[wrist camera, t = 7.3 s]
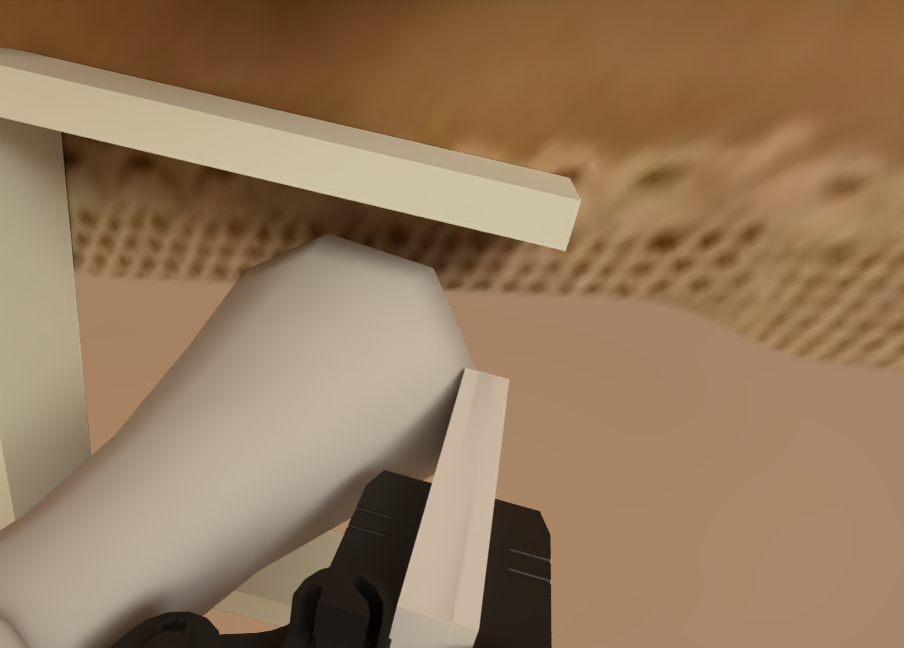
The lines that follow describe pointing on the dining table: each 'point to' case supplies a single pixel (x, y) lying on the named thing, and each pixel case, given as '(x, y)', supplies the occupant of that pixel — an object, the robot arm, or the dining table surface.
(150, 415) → the flask
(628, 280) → the dining table surface
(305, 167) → the u-shaped wooden frame
